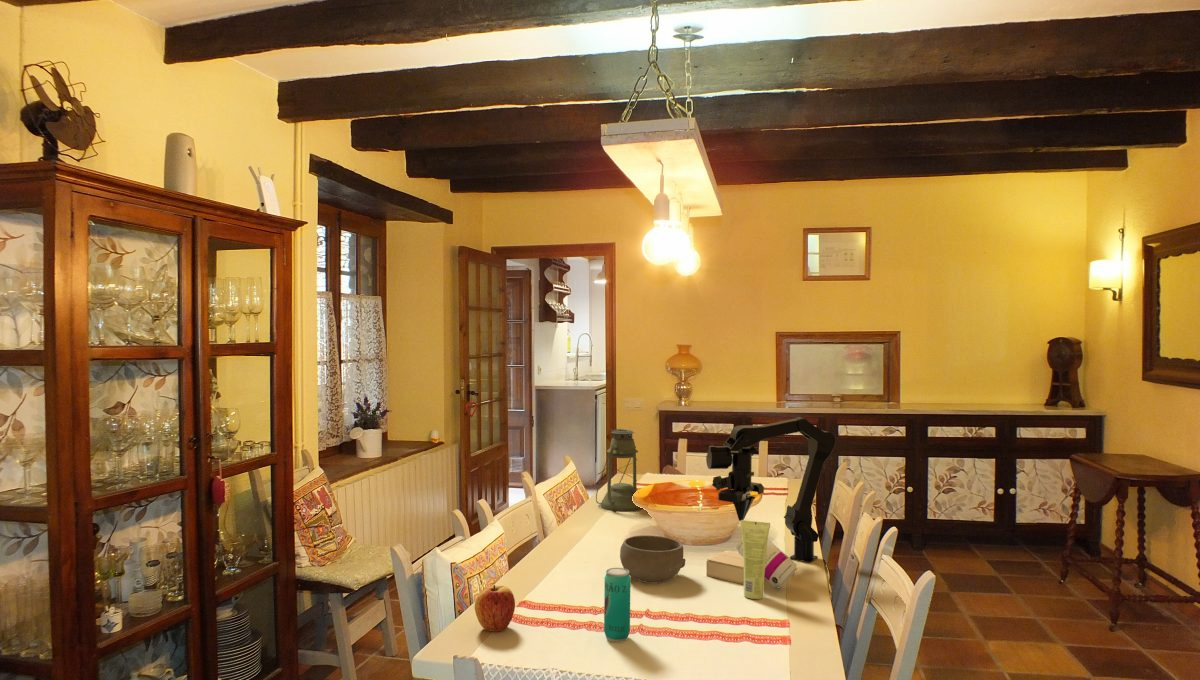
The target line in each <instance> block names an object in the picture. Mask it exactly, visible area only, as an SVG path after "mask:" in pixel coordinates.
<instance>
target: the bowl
mask: <svg viewBox="0 0 1200 680" xmlns="http://www.w3.org/2000/svg"><path fill="white" fill-rule="evenodd" d="M619 558H620V563H621V565H622V568H624V569H627V570H629V576H630V578H632V579H635V580H637V581H639V582H644V583H649V584H650V583H651V584H656V583H664V582H667V581H670V580H672V579H674V578H675V577H676V576H677V575H678V573H680V570H681V569H682V568H684V567H685V565H686V558H684V546H683V543H682V542H680V540H677V539H674V538H671V537H666V536H662V535H661V536H659V535H649V534H648V535H647V534H645V535H641V534H640V535H635V536H629V537H627V538H625V539H624V540H623V542H622V544H621V546H620V550H619Z"/></svg>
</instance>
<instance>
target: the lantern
mask: <svg viewBox="0 0 1200 680" xmlns="http://www.w3.org/2000/svg"><path fill="white" fill-rule="evenodd" d="M610 431H611V432H610V433H611V434H612V438H611V440H610V446H609V448H608V449H607V450H606V453H608V456H607V459H606V461H605V464H604V466H603V470H602V473H601V476H600V479H599V481H598V486H597V490H596V494H595V502H596V504H598V505H600V508H601V509H603V510H606V511H610V512H621V513H623V512H626V513H627V512H628V513H629V512H636V511H640V510H642V509H641V508H640V507H638V506H636V505H635V504H634V503H633V501H632V496H633V494H634V493H635V492H636V491H638V486H637V461H638V459H637V454H638V453H639V451H638V450H637V448H636V447H637V446H636V444H635V439H634V438H633V434H635V431H633V430H630V429H624V428H614V429H610ZM613 458H614V459H628V463H627V465H624V466H622V467H621V469H622V468H625V470H624V472H623V471H621V470H620V469H617V468H616V467H614V466H613V465H612V462H613ZM631 459H632V463H630V461H631ZM631 464H632V476H631V475H629V474H627V473H626V471H627V469H628V467H629V466H630V465H631ZM606 467H607V484H606V485H607V490H606V493H605V495H604V497H603V498H602V499H601V502H599V501H598V491H599V487H600V485H601V481H602V477H603V475H604V472H605V468H606ZM612 469H615V470H614V471H613V472H612ZM617 471H618V472H620V473H622V476H621V479H620V480H619V482H618V483H614V484H612V474H614V473H615V472H617ZM625 475H626V476H629V477H630V478H632V482H631V483H626V482H625V483H624V482H622V480H623V478H624V476H625Z"/></svg>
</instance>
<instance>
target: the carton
mask: <svg viewBox="0 0 1200 680" xmlns="http://www.w3.org/2000/svg"><path fill="white" fill-rule="evenodd" d="M705 572H706V573H705V574H706V577H711V578H714V579H719V580H723V581H728V582H732V583H736V584H740V585H744V559H739V558H735V557H730V556H725V555H720V553H719V554H716V555H714V556H711V557H710V558H708V559H707V560H706V571H705ZM764 580H767V579H766V578H765V577H764Z"/></svg>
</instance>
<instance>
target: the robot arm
mask: <svg viewBox="0 0 1200 680" xmlns="http://www.w3.org/2000/svg"><path fill="white" fill-rule="evenodd" d="M794 433H795V434H796V433H800V434H801V435H802V436H803V437H805V438H806V439H807V440H808V444H807V449H808V458H807V462H806V463H807V464H806V466H805V470H804V474H803V476H802V477H803V478H802V480H801V484H800V487H799V492H798V495H797V498H796V501H795V502H794V504H793V505H792V506H791V505H787V506H786V513H785V514H784V516H783V519H784V523H785V526H786V528H787V529H788V530H789V531H790V534H791V535H792V536H793V539H794V540H793V541H794V542H793V543H794V545H793V546H794V547H793V548H794V549H793V555H792V554H791V556H789V558H790V559H791V560H793V561H794V560H795V561H801V562H806V563H812V562H813V561H816V560H817V559H818V558H819V557H818V555H814V553H815V552H814V551H815V543H816V542H818V540H819V537H820V534H819V533H818V532H817V531H815V529H814V528H813V527H812V524H813V512H812V511H813V510H812V506H813V503H814V499H815V496H816V493H817V490H818V486H819V482H820V479H821V474H822V472H823V469H824V465H825V462H826V461H827V459H828V458H829V457H830V456H831V455H832V453H833V451H834V449H835V448H836V447H835V446H836V443H837V439H836V438H835V435H834V434H833V433H831V432H829V431H825V430H822V429H820V427H817V426H816V425H814V424H812V423H811V422H809V421H808V420H807V419H806V418H803V417H800V416H797V417H794V418H791V419H786V420H781V421H776V422H772V423H767V424H762V425H750V424H749V425H736V426H734V427H733V428H732V430H730V436H729V437H728V438H727V439H726V441H725V442H724V444H723V445H721V446H720V445H719V446H718V445H716V446H715V445H709V446H708V450H707V453H706V456H705V458H706V466H707V468H708V470H727V469H729V468H730V467H731V468H732V469H731V471H729V472H728V475H727V476H725V477H722V476H721V475H717V476H714V477H713V478H712V484H711V485H712V487H713V488H715V490H716V491H719V492H718V494H717V500H718V501H722V502H727V503H728V502H729V503H733V506H734V509H735V512H736V515H737V519H738V521H739V522H741V520H745V518H746V516H747V514H748V512H749V509H750V508H751V505H752V504H753V502H754V500H755V499H756V496H752V494H751V493H752V492H754V493H757V494H758V495H762V494H765V493H764V491H765V488H764V487H765V486H764V485H763V484H762V483H761V482H760V483H759V482H752V477H754V476H755V471H753V470H752V468H753V466H752V461H753V459H752V457H753V455H759V453H760V451H759V450H757V449H756V448H755V446H754V445H755V444H758V443H760V442H761V441H763V440H767V439H771V438H776V437H781V436H785V435H790V434H794Z"/></svg>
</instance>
